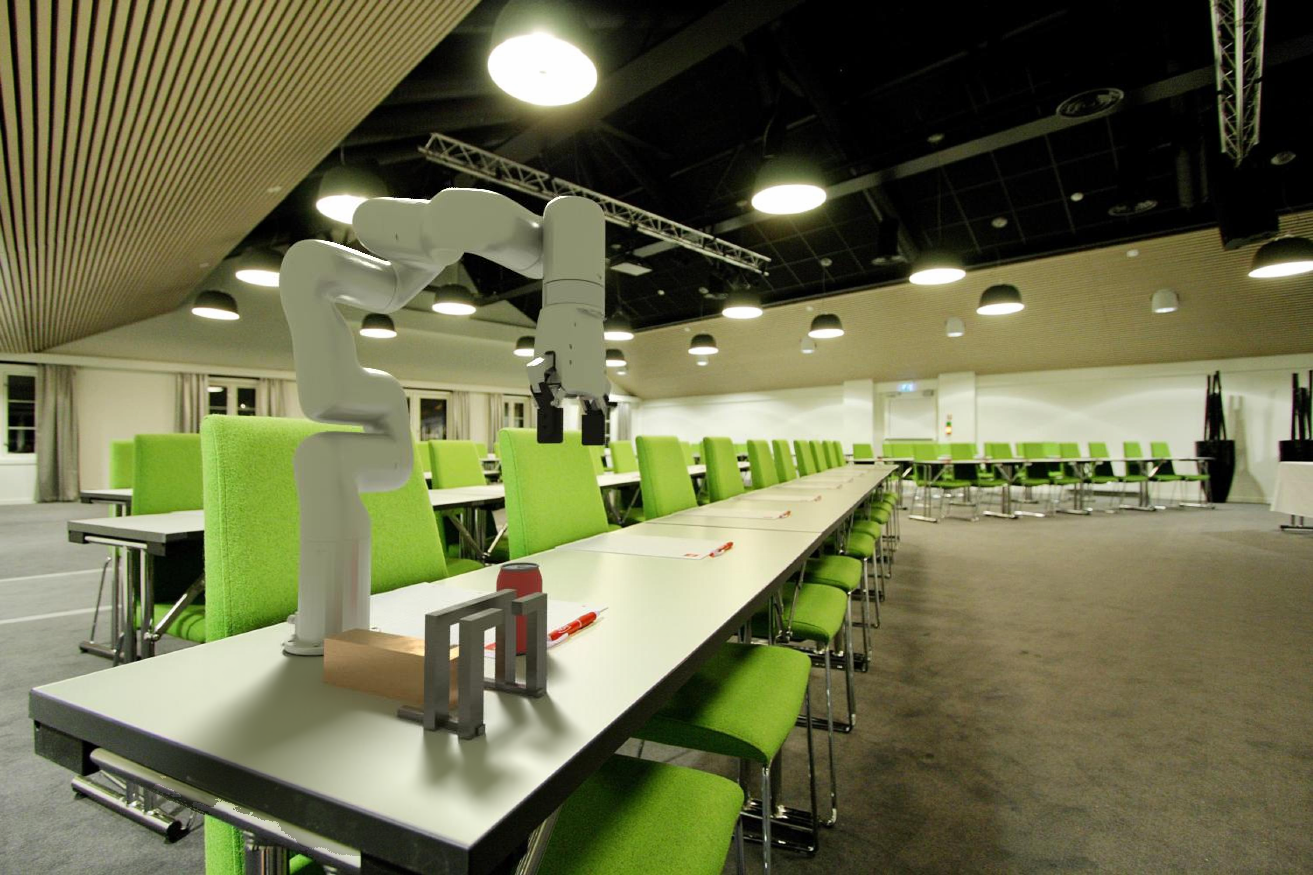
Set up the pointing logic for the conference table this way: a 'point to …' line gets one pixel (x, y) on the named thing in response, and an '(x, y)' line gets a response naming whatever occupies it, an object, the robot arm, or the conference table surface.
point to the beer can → (520, 591)
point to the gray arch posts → (480, 658)
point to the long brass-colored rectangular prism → (382, 665)
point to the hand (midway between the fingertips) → (572, 444)
